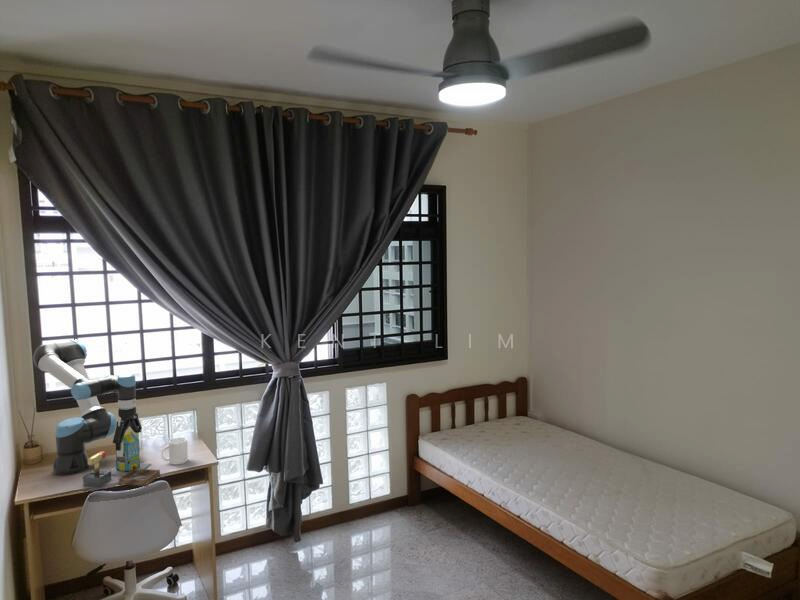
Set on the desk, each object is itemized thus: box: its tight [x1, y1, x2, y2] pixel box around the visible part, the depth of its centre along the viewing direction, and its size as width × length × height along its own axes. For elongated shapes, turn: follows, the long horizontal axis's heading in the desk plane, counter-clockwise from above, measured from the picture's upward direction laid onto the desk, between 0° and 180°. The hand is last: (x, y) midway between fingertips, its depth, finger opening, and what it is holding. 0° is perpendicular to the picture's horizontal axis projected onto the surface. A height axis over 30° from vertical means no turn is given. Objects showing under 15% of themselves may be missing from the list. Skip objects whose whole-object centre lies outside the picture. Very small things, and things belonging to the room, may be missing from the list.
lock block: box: [82, 469, 112, 488], centre depth 248 cm, size 8×8×4 cm
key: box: [88, 450, 106, 474], centre depth 248 cm, size 9×2×8 cm, turn 173°
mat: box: [110, 462, 152, 477], centre depth 263 cm, size 14×14×1 cm
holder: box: [118, 468, 161, 487], centre depth 252 cm, size 13×12×2 cm
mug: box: [161, 437, 189, 466], centre depth 272 cm, size 9×12×11 cm
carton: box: [115, 431, 141, 472], centre depth 262 cm, size 7×8×18 cm
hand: (128, 451), depth 263 cm, fingers open, 13 cm apart
